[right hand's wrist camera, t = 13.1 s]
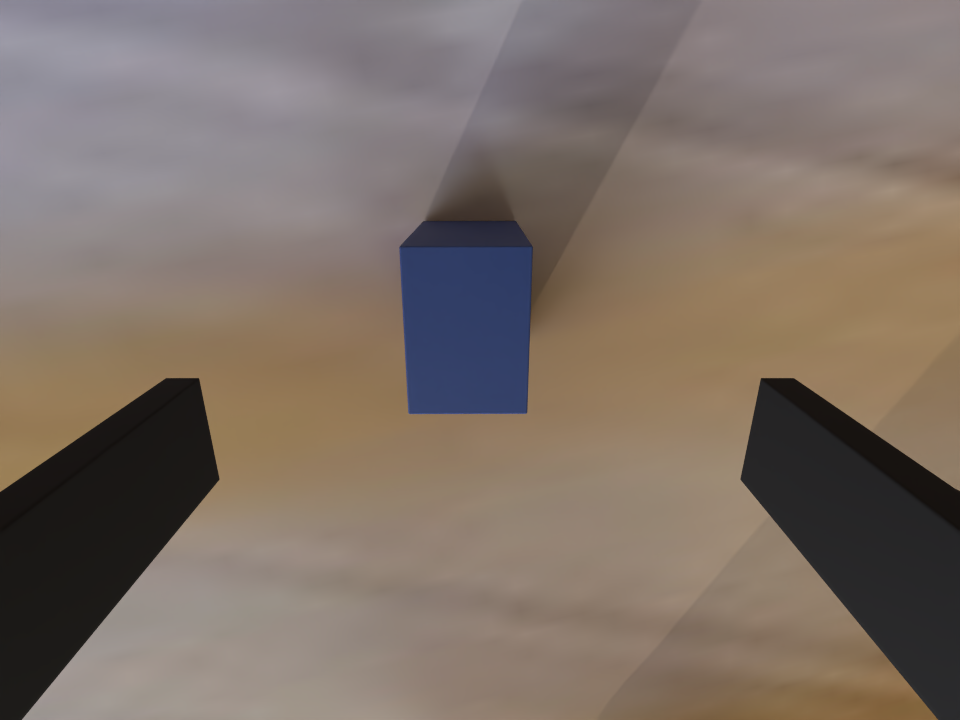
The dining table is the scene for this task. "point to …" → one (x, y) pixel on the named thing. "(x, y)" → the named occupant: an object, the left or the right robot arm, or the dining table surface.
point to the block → (467, 317)
